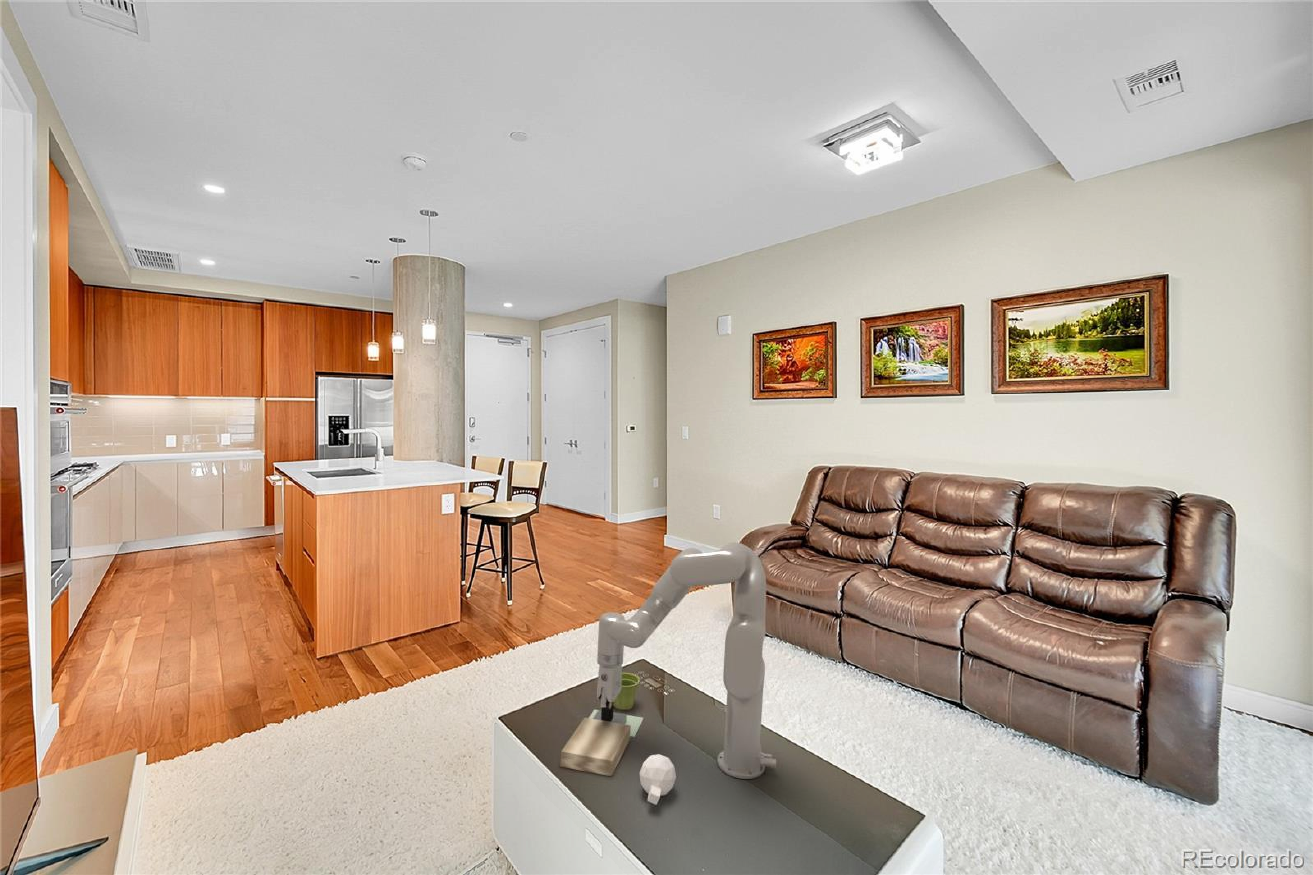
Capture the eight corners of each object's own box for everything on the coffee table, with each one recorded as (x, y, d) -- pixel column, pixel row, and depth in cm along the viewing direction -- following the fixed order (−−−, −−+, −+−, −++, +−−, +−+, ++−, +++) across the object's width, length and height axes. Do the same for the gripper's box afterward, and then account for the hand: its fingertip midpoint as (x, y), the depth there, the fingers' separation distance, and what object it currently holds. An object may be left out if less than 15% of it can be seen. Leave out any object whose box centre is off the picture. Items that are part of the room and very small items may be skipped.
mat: (643, 718, 173) (643, 717, 173) (634, 737, 163) (634, 736, 163) (594, 710, 177) (594, 709, 177) (582, 728, 166) (582, 727, 166)
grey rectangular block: (621, 724, 165) (621, 731, 165) (626, 714, 171) (626, 720, 171) (592, 719, 167) (592, 726, 167) (598, 709, 173) (598, 716, 173)
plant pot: (643, 704, 182) (645, 678, 182) (627, 716, 174) (628, 688, 174) (620, 696, 187) (621, 670, 187) (603, 707, 179) (604, 680, 179)
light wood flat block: (629, 739, 162) (630, 725, 162) (611, 776, 144) (612, 761, 144) (584, 731, 165) (584, 717, 165) (560, 766, 147) (561, 751, 147)
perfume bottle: (637, 770, 144) (630, 806, 132) (650, 740, 143) (643, 774, 131) (669, 783, 144) (664, 821, 132) (681, 753, 142) (678, 789, 130)
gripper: (615, 669, 154) (611, 735, 154) (629, 649, 169) (626, 709, 169) (589, 665, 156) (586, 730, 156) (605, 645, 170) (602, 705, 171)
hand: (607, 719), depth 163 cm, fingers closed
